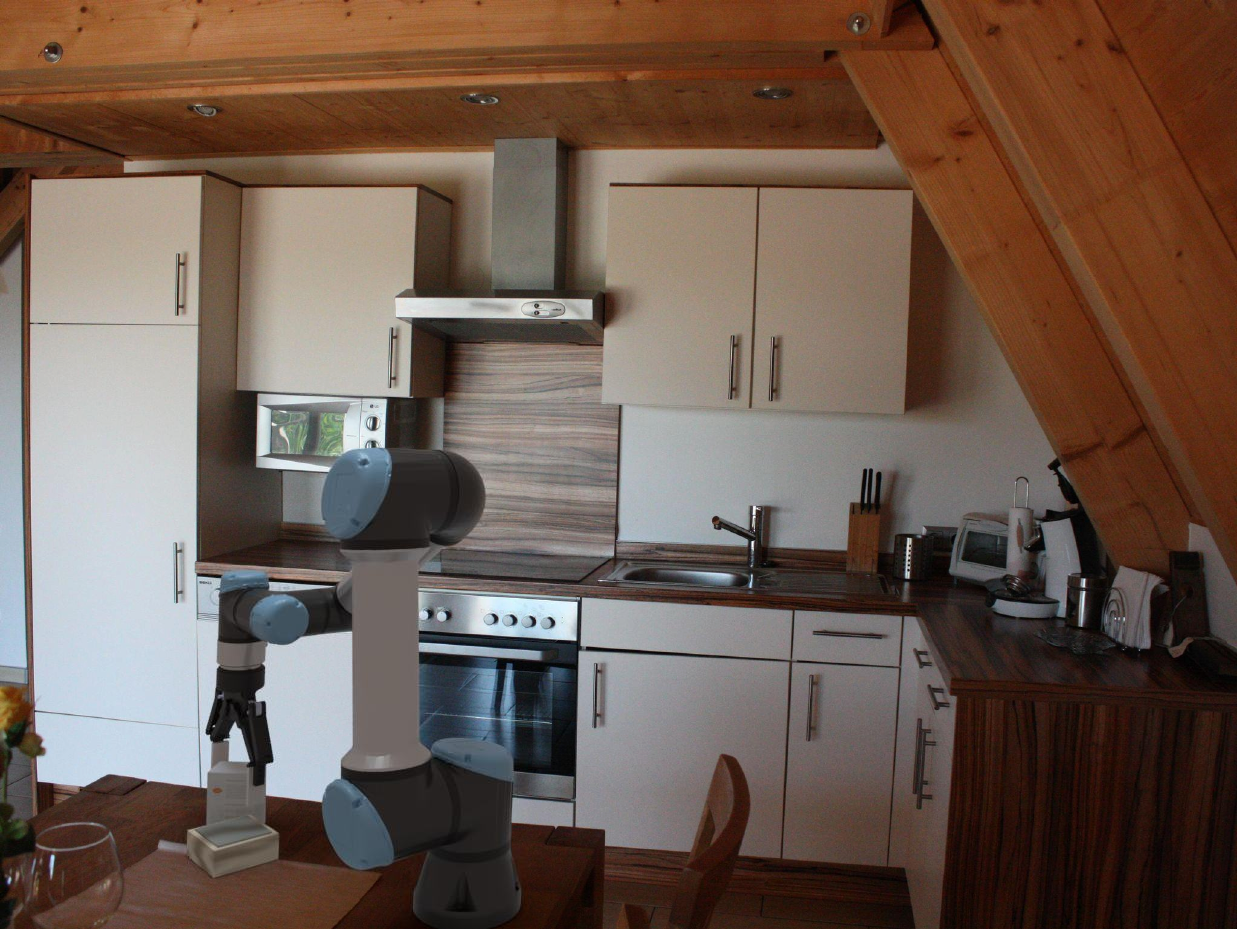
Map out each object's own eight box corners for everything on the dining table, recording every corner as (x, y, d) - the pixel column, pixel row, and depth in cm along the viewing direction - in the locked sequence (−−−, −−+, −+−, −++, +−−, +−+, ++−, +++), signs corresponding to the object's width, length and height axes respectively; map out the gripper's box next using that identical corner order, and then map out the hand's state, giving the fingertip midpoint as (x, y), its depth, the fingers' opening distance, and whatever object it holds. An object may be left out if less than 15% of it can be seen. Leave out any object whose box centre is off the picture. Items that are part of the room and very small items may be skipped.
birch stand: (278, 859, 149) (279, 831, 149) (213, 877, 142) (214, 849, 142) (249, 838, 156) (250, 812, 156) (186, 855, 149) (187, 828, 149)
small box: (265, 823, 163) (268, 761, 163) (254, 836, 157) (256, 772, 157) (217, 821, 163) (219, 760, 162) (204, 835, 157) (206, 771, 157)
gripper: (299, 677, 153) (293, 809, 154) (231, 647, 171) (226, 766, 171) (253, 684, 148) (248, 820, 149) (187, 652, 165) (183, 775, 166)
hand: (236, 791), depth 160 cm, fingers open, 13 cm apart
